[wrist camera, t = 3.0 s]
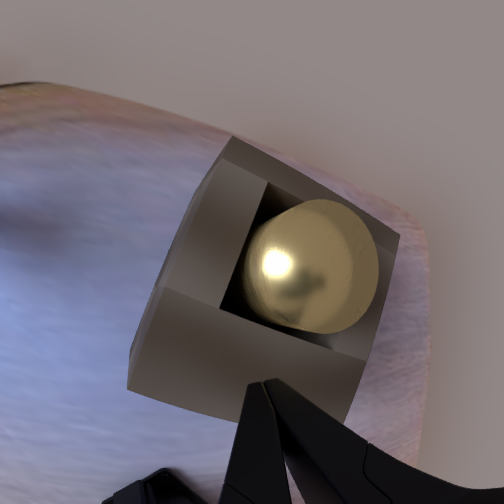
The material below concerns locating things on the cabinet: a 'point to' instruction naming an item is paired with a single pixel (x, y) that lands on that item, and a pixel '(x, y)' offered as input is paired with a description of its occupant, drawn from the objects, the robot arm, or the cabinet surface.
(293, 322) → the brass button
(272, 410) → the robot arm
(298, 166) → the cabinet surface
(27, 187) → the cabinet surface
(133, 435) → the cabinet surface
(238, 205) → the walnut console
